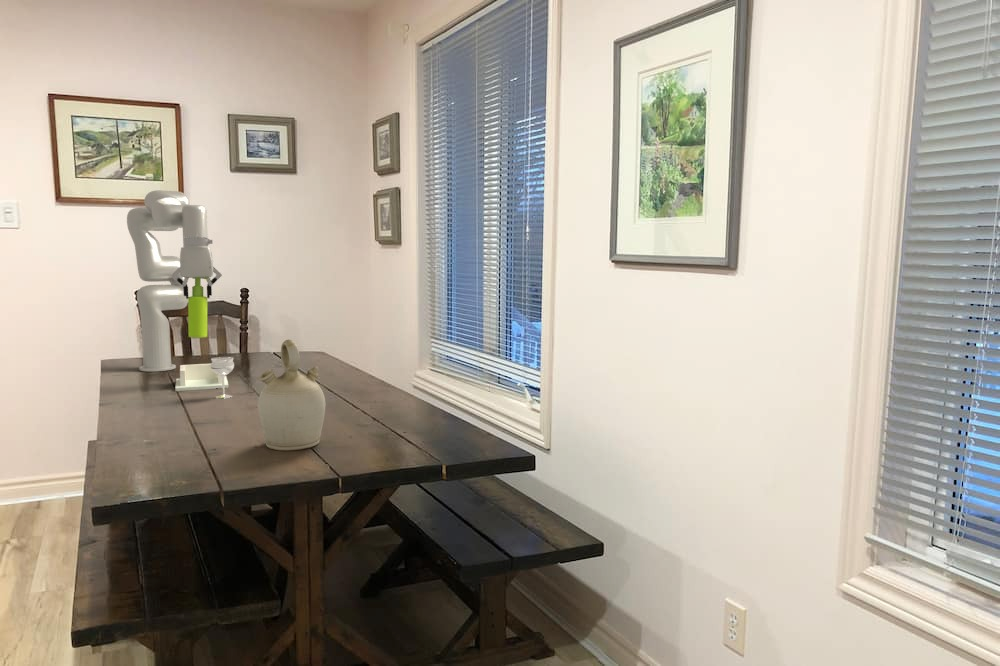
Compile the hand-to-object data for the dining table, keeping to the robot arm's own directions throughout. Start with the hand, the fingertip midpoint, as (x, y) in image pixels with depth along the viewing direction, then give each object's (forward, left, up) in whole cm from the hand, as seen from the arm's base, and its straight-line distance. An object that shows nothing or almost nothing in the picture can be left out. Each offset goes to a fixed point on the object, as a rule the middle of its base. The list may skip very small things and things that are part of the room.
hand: (197, 297), depth 246 cm
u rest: (0, 0, -29) cm, 29 cm away
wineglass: (+24, +6, -29) cm, 39 cm away
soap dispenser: (0, 0, -13) cm, 13 cm away
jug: (+88, +19, -30) cm, 95 cm away
